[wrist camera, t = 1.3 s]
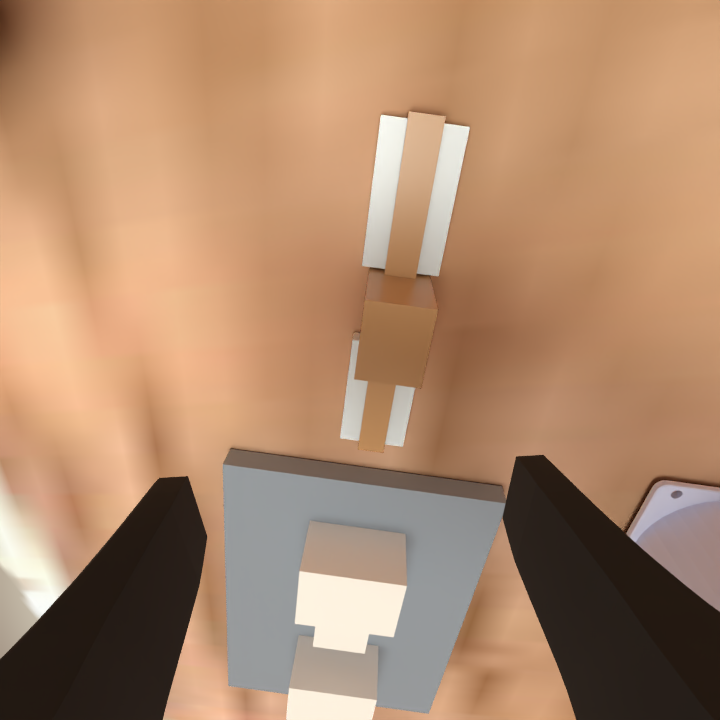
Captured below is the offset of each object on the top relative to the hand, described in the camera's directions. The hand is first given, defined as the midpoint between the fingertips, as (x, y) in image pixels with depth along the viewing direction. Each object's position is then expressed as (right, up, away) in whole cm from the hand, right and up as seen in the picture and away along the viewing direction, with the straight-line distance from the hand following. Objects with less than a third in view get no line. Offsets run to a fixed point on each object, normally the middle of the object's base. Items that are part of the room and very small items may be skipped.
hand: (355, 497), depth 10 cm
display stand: (-1, -11, +18) cm, 21 cm away
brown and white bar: (+1, +6, +9) cm, 11 cm away
